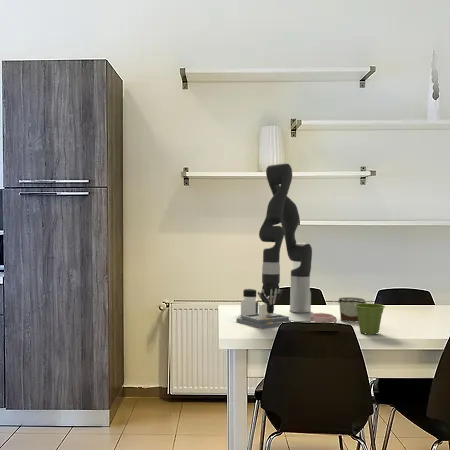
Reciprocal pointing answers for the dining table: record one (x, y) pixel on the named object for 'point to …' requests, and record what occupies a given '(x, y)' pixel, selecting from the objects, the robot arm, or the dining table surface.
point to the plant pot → (369, 317)
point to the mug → (323, 317)
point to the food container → (349, 308)
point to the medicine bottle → (249, 302)
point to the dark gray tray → (263, 320)
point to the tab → (262, 311)
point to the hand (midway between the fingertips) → (270, 312)
